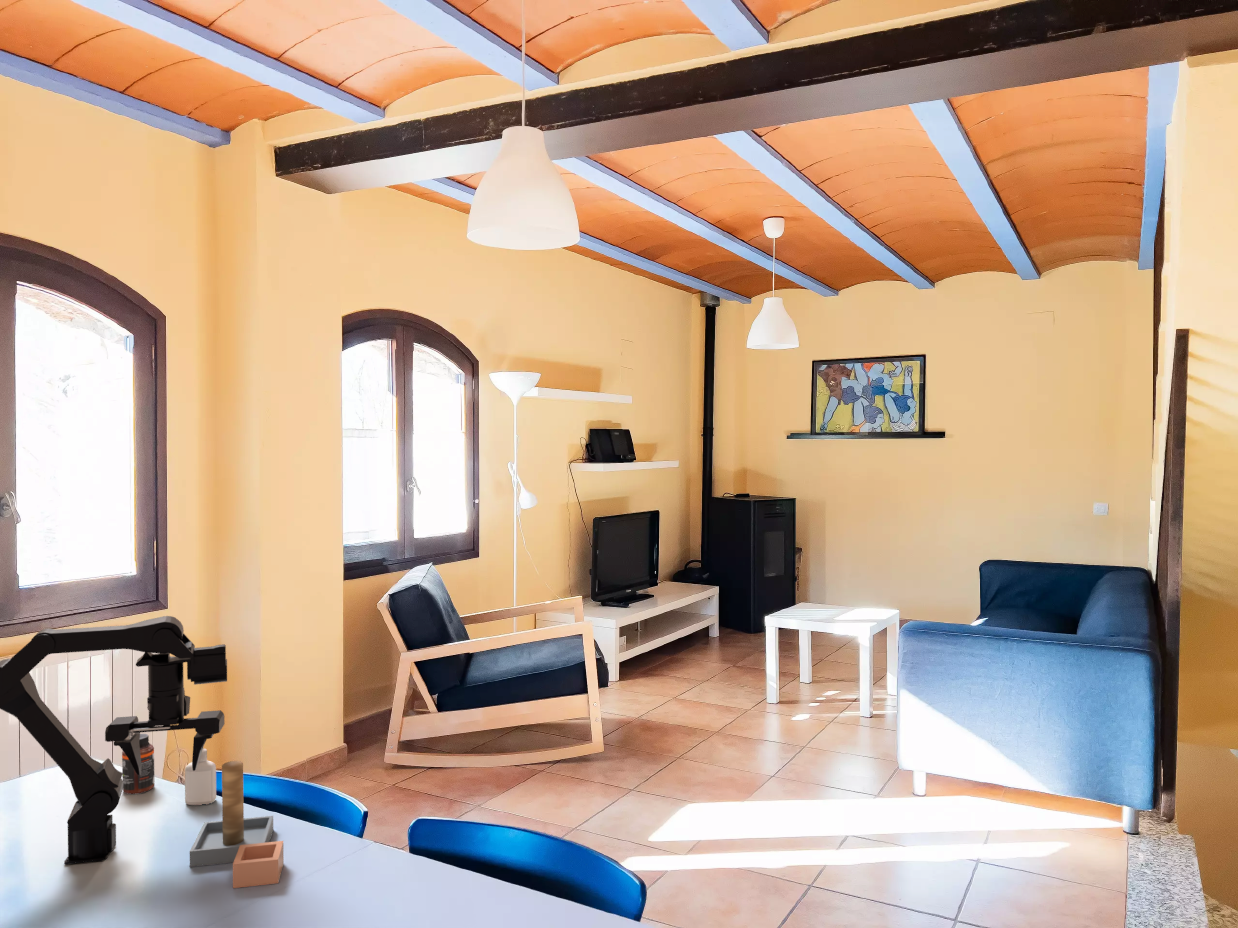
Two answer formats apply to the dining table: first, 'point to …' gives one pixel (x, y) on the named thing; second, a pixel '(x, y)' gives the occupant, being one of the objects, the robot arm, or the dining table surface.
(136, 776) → the supplement bottle
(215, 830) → the tray
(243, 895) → the dining table surface
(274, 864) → the terracotta socket
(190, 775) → the eye dropper bottle
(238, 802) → the oak dowel
